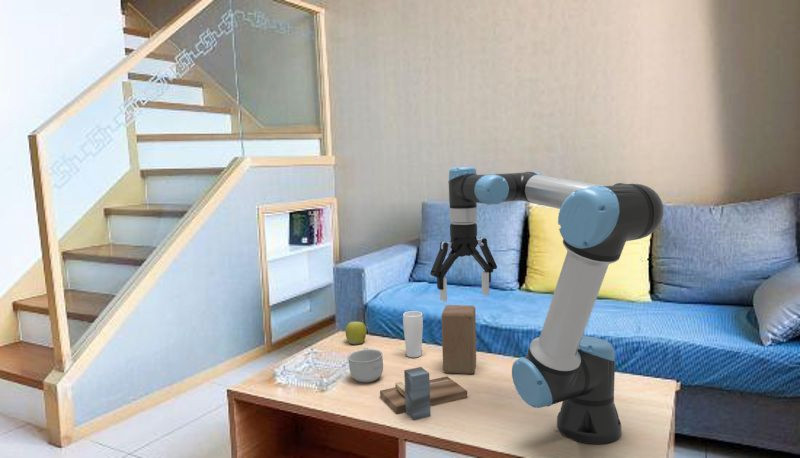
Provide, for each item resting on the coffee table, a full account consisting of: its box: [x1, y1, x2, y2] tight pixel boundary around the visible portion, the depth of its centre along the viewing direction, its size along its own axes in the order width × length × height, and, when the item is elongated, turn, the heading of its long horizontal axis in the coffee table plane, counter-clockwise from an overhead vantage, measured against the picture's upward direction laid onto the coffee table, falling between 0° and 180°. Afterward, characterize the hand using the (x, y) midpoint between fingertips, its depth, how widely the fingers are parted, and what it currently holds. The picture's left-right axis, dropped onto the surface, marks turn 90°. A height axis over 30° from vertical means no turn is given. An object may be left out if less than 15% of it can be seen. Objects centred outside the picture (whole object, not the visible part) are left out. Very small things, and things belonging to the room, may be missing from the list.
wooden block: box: [441, 304, 477, 375], centre depth 180 cm, size 10×10×20 cm
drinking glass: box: [402, 310, 424, 359], centre depth 194 cm, size 7×7×15 cm
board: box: [379, 375, 468, 415], centre depth 161 cm, size 12×22×2 cm, turn 114°
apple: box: [345, 317, 367, 345], centre depth 210 cm, size 8×8×10 cm
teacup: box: [347, 347, 384, 384], centre depth 177 cm, size 14×11×8 cm
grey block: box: [394, 366, 431, 421], centre depth 155 cm, size 16×5×12 cm, turn 24°
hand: (464, 297), depth 158 cm, fingers open, 13 cm apart
